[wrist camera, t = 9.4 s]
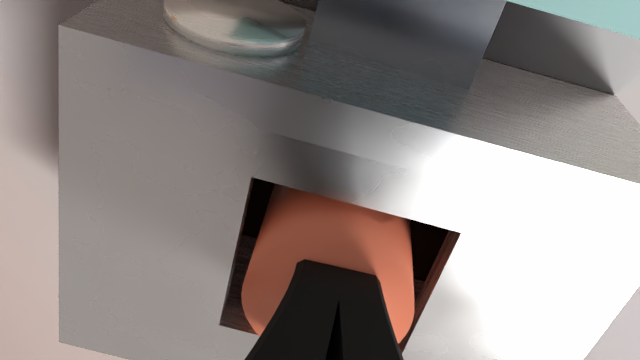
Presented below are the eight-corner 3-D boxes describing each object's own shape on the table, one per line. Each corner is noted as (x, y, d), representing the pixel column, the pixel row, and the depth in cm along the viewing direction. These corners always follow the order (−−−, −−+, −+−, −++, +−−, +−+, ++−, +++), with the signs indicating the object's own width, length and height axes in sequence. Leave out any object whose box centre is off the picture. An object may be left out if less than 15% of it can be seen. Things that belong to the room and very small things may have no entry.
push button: (427, 145, 13) (440, 264, 9) (385, 248, 14) (383, 382, 11) (294, 109, 12) (258, 217, 9) (267, 216, 14) (228, 342, 11)
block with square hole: (624, 81, 12) (716, 183, 9) (485, 320, 16) (510, 455, 13) (155, -52, 12) (58, 1, 8) (131, 228, 15) (59, 342, 12)
